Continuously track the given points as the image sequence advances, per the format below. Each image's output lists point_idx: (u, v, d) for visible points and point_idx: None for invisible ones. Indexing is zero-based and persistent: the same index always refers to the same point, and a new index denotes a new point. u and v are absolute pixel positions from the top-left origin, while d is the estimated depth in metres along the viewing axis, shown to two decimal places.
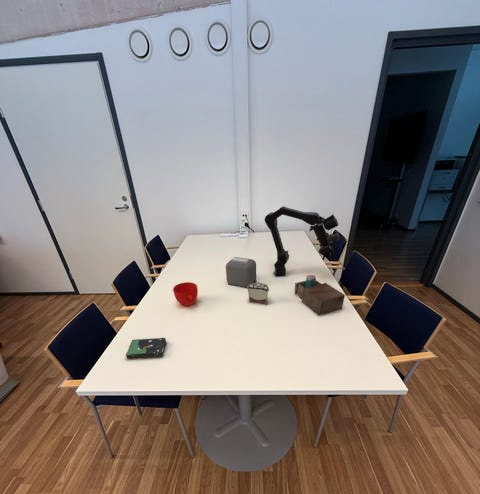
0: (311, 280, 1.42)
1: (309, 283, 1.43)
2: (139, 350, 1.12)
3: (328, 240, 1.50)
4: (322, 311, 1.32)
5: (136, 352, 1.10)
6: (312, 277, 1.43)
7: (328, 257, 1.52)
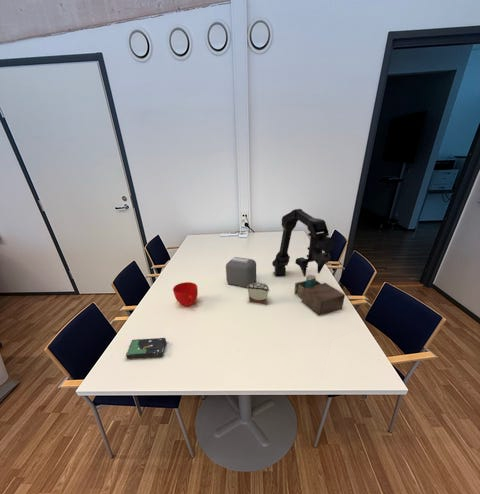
0: (311, 280, 1.42)
1: (309, 283, 1.43)
2: (139, 350, 1.12)
3: (312, 257, 1.34)
4: (322, 311, 1.32)
5: (136, 352, 1.10)
6: (312, 277, 1.43)
7: (302, 271, 1.40)
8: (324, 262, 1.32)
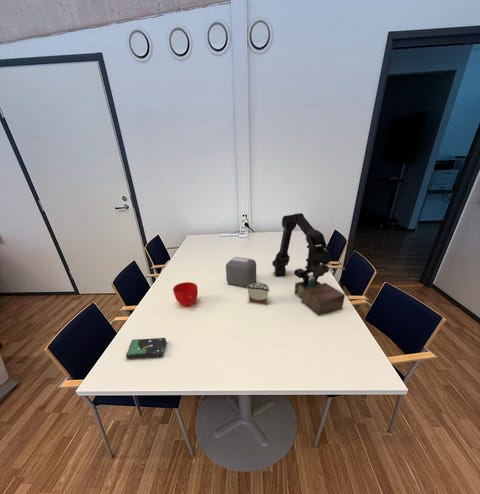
0: (311, 280, 1.42)
1: (309, 283, 1.43)
2: (139, 350, 1.12)
3: (310, 269, 1.37)
4: (322, 311, 1.32)
5: (136, 353, 1.10)
6: (312, 277, 1.43)
7: (304, 281, 1.44)
8: (322, 274, 1.35)
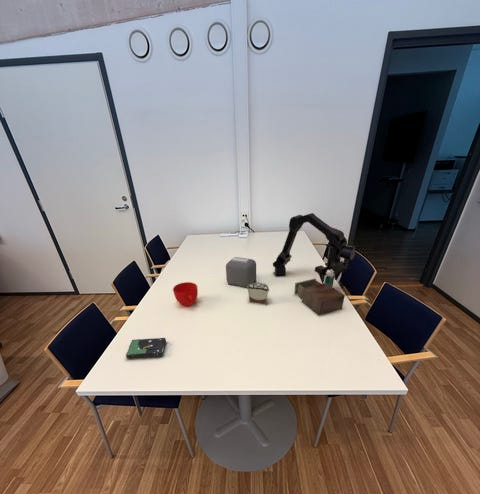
0: (330, 277, 1.48)
1: (329, 280, 1.49)
2: (139, 350, 1.12)
3: (331, 266, 1.43)
4: (322, 311, 1.32)
5: (136, 353, 1.10)
6: (331, 275, 1.49)
7: (321, 278, 1.49)
8: (342, 270, 1.41)
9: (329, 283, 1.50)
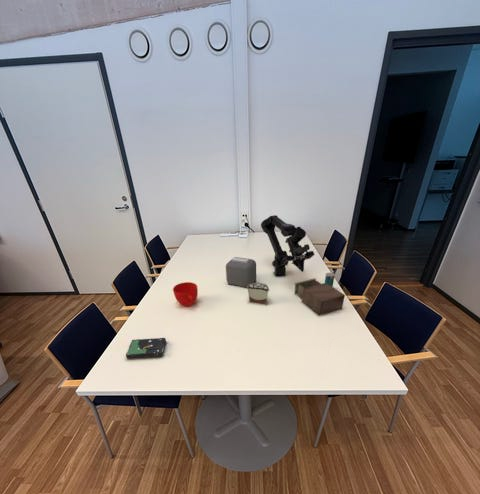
0: (330, 277, 1.48)
1: (329, 280, 1.49)
2: (139, 350, 1.12)
3: (294, 252, 1.48)
4: (322, 311, 1.32)
5: (136, 353, 1.10)
6: (331, 275, 1.49)
7: (299, 267, 1.51)
8: (305, 249, 1.44)
9: (329, 283, 1.50)
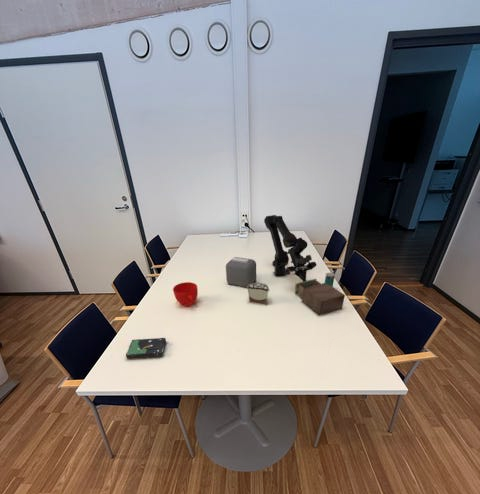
0: (330, 277, 1.48)
1: (329, 280, 1.49)
2: (139, 350, 1.12)
3: (296, 263, 1.48)
4: (322, 311, 1.32)
5: (136, 353, 1.10)
6: (331, 275, 1.49)
7: (301, 278, 1.50)
8: (307, 260, 1.44)
9: (329, 283, 1.50)
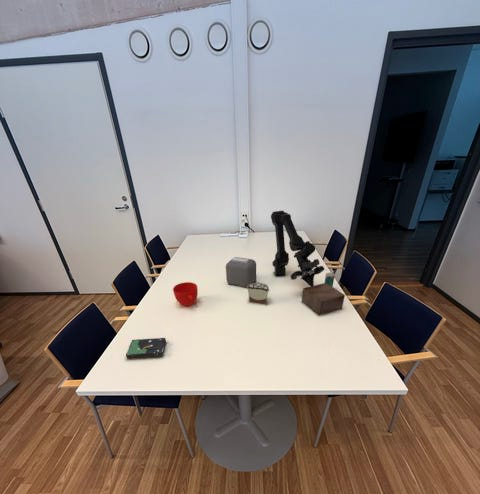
0: (330, 277, 1.48)
1: (329, 280, 1.49)
2: (139, 350, 1.12)
3: (303, 267, 1.43)
4: (322, 311, 1.32)
5: (136, 353, 1.10)
6: (331, 275, 1.49)
7: (308, 283, 1.45)
8: (315, 264, 1.39)
9: (329, 283, 1.50)
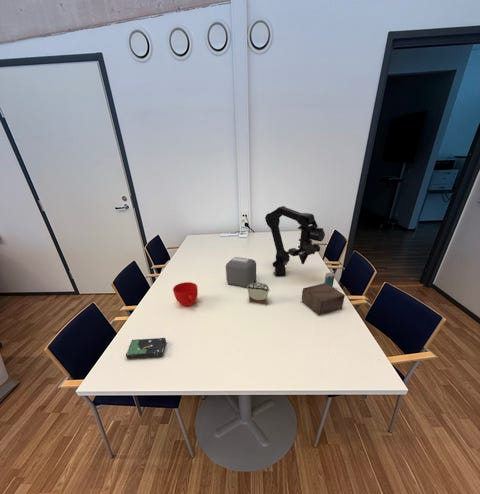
0: (330, 277, 1.48)
1: (329, 280, 1.49)
2: (139, 350, 1.12)
3: (303, 248, 1.49)
4: (322, 311, 1.32)
5: (136, 353, 1.10)
6: (331, 275, 1.49)
7: (301, 259, 1.57)
8: (313, 252, 1.47)
9: (329, 283, 1.50)
